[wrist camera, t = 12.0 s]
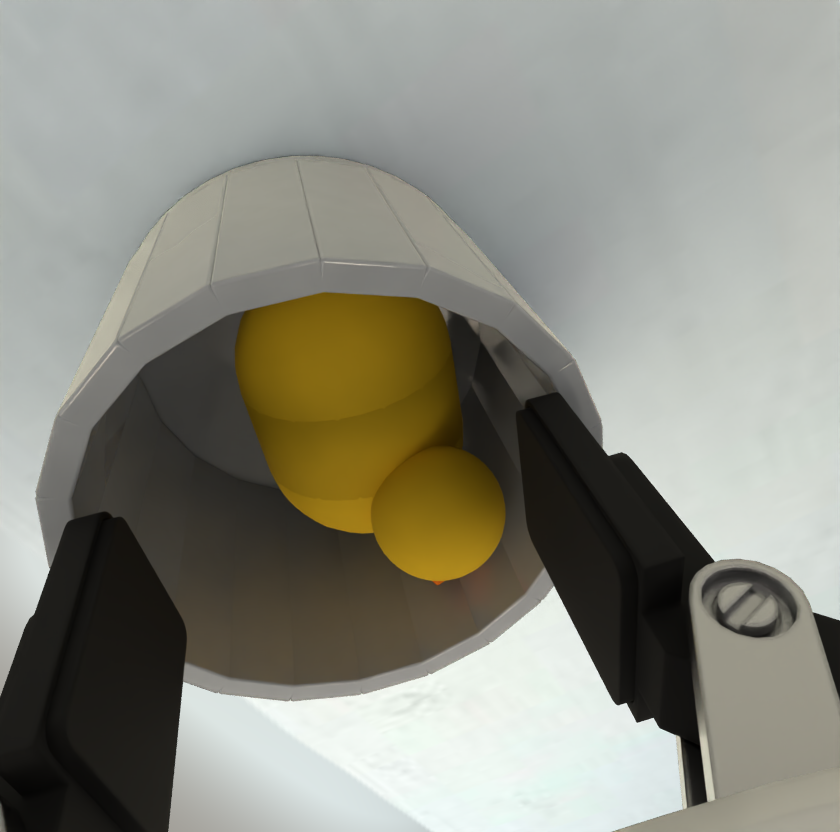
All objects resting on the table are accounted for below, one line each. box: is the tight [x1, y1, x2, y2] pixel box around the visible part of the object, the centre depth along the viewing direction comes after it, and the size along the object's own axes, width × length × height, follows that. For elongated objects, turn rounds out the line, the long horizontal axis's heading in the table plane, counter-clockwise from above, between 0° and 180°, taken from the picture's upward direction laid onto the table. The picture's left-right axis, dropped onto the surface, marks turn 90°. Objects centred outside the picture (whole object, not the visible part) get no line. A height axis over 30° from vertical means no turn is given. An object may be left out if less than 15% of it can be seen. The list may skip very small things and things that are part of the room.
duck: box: [235, 292, 506, 585], centre depth 14 cm, size 7×5×6 cm
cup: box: [35, 156, 603, 701], centre depth 14 cm, size 9×9×7 cm
